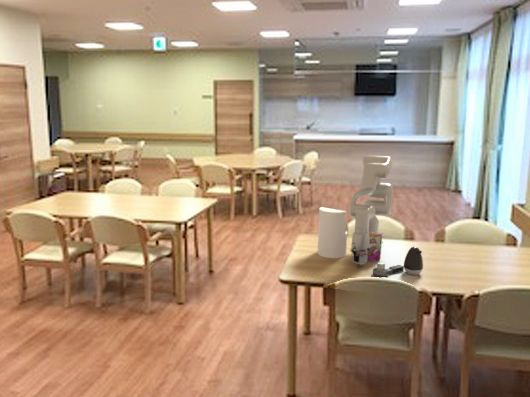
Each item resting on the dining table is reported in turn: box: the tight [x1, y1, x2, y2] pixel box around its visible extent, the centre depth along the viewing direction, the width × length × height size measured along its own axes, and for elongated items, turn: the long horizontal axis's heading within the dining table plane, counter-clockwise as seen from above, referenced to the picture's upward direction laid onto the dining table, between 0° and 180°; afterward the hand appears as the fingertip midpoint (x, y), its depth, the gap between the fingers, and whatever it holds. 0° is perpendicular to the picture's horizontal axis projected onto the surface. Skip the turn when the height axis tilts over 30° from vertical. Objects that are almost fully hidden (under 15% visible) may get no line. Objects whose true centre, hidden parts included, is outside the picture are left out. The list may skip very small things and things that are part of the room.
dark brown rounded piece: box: [403, 246, 424, 276], centre depth 274 cm, size 10×10×15 cm
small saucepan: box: [372, 261, 405, 278], centre depth 274 cm, size 20×8×7 cm, turn 123°
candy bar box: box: [367, 231, 383, 262], centre depth 295 cm, size 11×5×16 cm, turn 71°
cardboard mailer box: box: [352, 250, 368, 265], centre depth 284 cm, size 6×6×7 cm
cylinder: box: [317, 206, 348, 259], centre depth 303 cm, size 17×17×28 cm
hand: (360, 260), depth 284 cm, fingers closed on cardboard mailer box, 5 cm apart
